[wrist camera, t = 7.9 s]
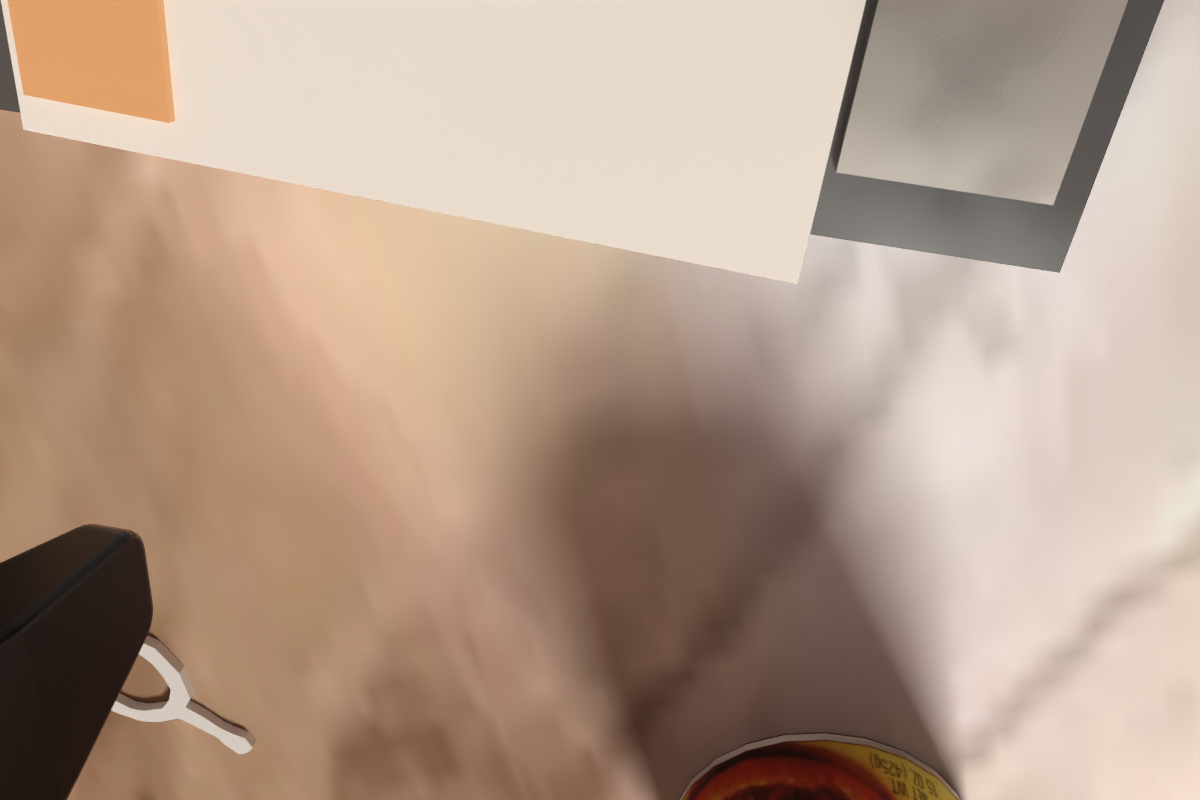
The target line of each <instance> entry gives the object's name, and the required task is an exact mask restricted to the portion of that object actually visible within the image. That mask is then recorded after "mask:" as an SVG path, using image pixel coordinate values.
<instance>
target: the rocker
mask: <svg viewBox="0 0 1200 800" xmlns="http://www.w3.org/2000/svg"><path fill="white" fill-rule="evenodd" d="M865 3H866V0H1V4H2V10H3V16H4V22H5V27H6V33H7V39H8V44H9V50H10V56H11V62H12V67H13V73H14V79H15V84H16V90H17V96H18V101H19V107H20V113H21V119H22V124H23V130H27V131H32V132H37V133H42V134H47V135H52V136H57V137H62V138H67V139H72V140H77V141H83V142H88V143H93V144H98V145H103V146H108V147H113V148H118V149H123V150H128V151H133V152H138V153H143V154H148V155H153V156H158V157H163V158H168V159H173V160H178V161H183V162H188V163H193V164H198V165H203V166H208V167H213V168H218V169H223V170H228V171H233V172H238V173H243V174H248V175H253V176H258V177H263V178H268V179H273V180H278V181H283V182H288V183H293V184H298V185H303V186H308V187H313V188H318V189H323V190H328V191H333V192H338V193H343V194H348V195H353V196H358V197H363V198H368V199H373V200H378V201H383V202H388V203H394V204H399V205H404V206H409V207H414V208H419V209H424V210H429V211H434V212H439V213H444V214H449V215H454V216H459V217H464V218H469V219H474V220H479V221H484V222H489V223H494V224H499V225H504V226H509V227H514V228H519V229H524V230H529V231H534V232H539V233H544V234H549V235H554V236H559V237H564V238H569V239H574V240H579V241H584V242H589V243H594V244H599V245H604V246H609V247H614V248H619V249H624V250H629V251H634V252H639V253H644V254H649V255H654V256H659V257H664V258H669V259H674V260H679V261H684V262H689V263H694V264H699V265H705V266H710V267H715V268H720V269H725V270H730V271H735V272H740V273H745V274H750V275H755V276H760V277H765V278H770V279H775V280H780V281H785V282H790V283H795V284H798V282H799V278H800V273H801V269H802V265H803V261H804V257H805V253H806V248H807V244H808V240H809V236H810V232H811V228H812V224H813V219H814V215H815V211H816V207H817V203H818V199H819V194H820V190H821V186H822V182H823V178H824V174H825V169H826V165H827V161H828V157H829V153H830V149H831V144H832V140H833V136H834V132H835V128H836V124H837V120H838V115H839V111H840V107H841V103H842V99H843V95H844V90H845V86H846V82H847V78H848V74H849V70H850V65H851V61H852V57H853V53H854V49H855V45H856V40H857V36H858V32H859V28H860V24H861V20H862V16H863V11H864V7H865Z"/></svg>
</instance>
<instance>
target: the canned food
mask: <svg viewBox="0 0 1200 800" xmlns="http://www.w3.org/2000/svg"><path fill="white" fill-rule="evenodd" d="M679 800H960V798H959V796H958V794H957V793H956V792H955V791H954V790H953V789H952V788H951V787H950V786H949V785H948V783H947V782H946V781H945V780H944V779H943V778H942V777H941V776H940V775H939V774H938V773H937V772H936V771H935V770H934V769H932V768H930V767H929V766H927V765H925V764H924V763H922V762H920V761H919V760H917V759H915V758H914V757H912V756H911V755H909V754H907V753H906V752H904V751H901V750H898V749H895V748H892V747H889V746H886V745H883V744H880V743H877V742H875V741H872V740H869V739H864V738H857V737H850V736H843V735H835V734H828V733H819V734H797V735H783V736H779V737H774V738H770V739H766V740H762V741H758V742H754V743H749V744H746V745H744V746H742V747H740V748H738V749H736V750H734V751H732V752H730V753H727V754H725V755H723V756H721V757H719V758H717V759H715V760H714V761H713V762H712V763H710V764H709V765H708V766H707V767H706V768H705V769H703V770H702V771H701V772H700V773H699V774H698V775H696V776H695V777H694V778H693V779H692V780H691V781H690V783H689V784H688V786H687V788H686V789H685V791H684V793H683V794H682V796H681V798H680V799H679Z"/></svg>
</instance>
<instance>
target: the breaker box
mask: <svg viewBox="0 0 1200 800" xmlns="http://www.w3.org/2000/svg"><path fill="white" fill-rule="evenodd" d="M1163 2H1164V0H866V3H865V7H864V11H863V16H862V20H861V24H860V28H859V32H858V36H857V40H856V45H855V49H854V53H853V57H852V61H851V65H850V70H849V74H848V78H847V82H846V86H845V90H844V95H843V99H842V103H841V107H840V111H839V115H838V120H837V124H836V128H835V132H834V136H833V140H832V144H831V149H830V153H829V157H828V161H827V165H826V169H825V174H824V178H823V182H822V186H821V190H820V194H819V199H818V203H817V207H816V211H815V215H814V219H813V224H812V228H811V232H810V234H813V235H819V236H826V237H832V238H839V239H845V240H851V241H858V242H864V243H871V244H877V245H884V246H890V247H897V248H903V249H910V250H916V251H923V252H929V253H936V254H942V255H949V256H955V257H962V258H968V259H975V260H981V261H988V262H994V263H1001V264H1007V265H1014V266H1020V267H1027V268H1033V269H1040V270H1046V271H1053V272H1059V273H1060V270H1061V268H1062V265H1063V263H1064V260H1065V257H1066V255H1067V252H1068V249H1069V247H1070V244H1071V242H1072V239H1073V236H1074V234H1075V231H1076V229H1077V226H1078V223H1079V221H1080V218H1081V216H1082V213H1083V210H1084V208H1085V205H1086V203H1087V200H1088V197H1089V195H1090V192H1091V189H1092V187H1093V184H1094V182H1095V179H1096V176H1097V174H1098V171H1099V169H1100V166H1101V163H1102V161H1103V158H1104V156H1105V153H1106V150H1107V148H1108V145H1109V143H1110V140H1111V137H1112V135H1113V132H1114V130H1115V127H1116V124H1117V122H1118V119H1119V116H1120V114H1121V111H1122V109H1123V106H1124V103H1125V101H1126V98H1127V96H1128V93H1129V90H1130V88H1131V85H1132V83H1133V80H1134V77H1135V75H1136V72H1137V70H1138V67H1139V64H1140V62H1141V59H1142V57H1143V54H1144V51H1145V49H1146V46H1147V43H1148V41H1149V38H1150V36H1151V33H1152V30H1153V28H1154V25H1155V23H1156V20H1157V17H1158V15H1159V12H1160V10H1161V7H1162V4H1163ZM0 109H1V110H7V111H14V112H20V107H19V101H18V96H17V90H16V84H15V79H14V73H13V67H12V62H11V56H10V50H9V44H8V39H7V33H6V27H5V22H4V16H3V10H2V4H1V0H0Z"/></svg>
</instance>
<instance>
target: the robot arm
mask: <svg viewBox="0 0 1200 800" xmlns="http://www.w3.org/2000/svg"><path fill="white" fill-rule="evenodd" d="M152 617H153V602H152V595H151V588H150V581H149V575H148V568H147V561H146V554H145V548H144V544H143V541H142V539H141V537H140V536H139V535H138V534H137V533H135V532H133V531H131V530H127V529H121V528H115V527H109V526H103V525H97V524H88V525H83V526H81V527H78V528H76V529H73V530H71V531H69V532H67V533H65V534H62V535H60V536H58V537H56V538H54V539H52V540H49V541H47V542H45V543H43V544H41V545H38V546H36V547H34V548H32V549H30V550H27V551H25V552H23V553H21V554H19V555H17V556H14V557H12V558H10V559H8V560H6V561H3V562H1V563H0V800H67V798H68V796H69V794H70V792H71V791H72V789H73V787H74V785H75V783H76V781H77V779H78V777H79V775H80V773H81V771H82V769H83V767H84V765H85V763H86V761H87V759H88V757H89V755H90V753H91V751H92V748H93V746H94V744H95V742H96V740H97V738H98V736H99V734H100V732H101V730H102V728H103V726H104V724H105V722H106V720H107V718H108V716H109V714H110V712H111V710H112V707H113V705H114V703H115V701H116V699H117V697H118V695H119V693H120V691H121V689H122V687H123V685H124V683H125V681H126V679H127V677H128V675H129V673H130V671H131V668H132V666H133V664H134V662H135V660H136V658H137V656H138V654H139V652H140V650H141V648H142V646H143V644H144V642H145V640H146V637H147V635H148V633H149V630H150V626H151V622H152Z"/></svg>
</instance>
